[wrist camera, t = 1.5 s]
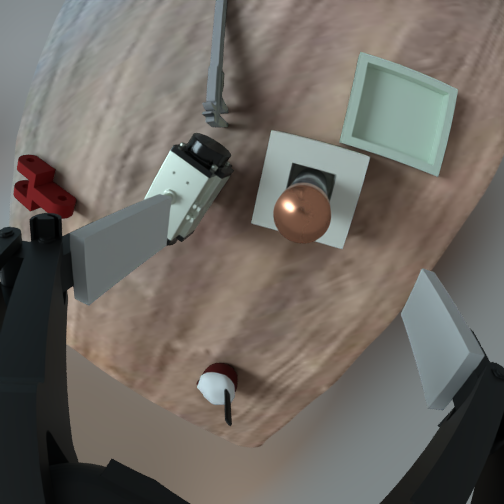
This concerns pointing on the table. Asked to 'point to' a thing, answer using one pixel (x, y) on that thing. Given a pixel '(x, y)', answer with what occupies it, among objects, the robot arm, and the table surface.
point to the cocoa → (219, 386)
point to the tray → (399, 113)
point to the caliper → (216, 70)
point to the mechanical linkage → (42, 188)
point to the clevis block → (319, 157)
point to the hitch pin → (304, 208)
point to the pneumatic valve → (191, 182)
